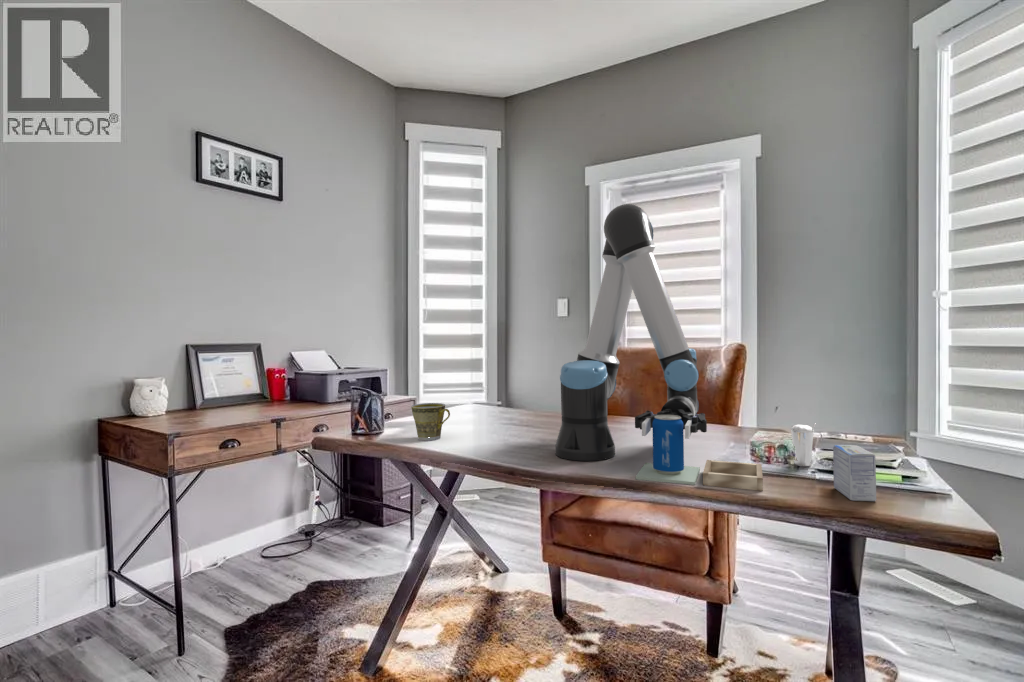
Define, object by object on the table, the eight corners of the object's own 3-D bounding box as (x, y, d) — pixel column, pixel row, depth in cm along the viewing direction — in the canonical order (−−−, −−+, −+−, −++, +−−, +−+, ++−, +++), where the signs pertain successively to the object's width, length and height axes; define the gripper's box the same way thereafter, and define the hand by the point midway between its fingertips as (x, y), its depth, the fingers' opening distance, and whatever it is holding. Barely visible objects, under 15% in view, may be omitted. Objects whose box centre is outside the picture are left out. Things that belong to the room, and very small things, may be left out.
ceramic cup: (405, 440, 158) (404, 406, 158) (427, 434, 167) (426, 402, 166) (439, 444, 151) (438, 409, 151) (460, 437, 160) (459, 404, 159)
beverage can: (651, 474, 115) (650, 418, 115) (655, 466, 121) (654, 413, 121) (682, 476, 113) (681, 419, 112) (685, 469, 119) (684, 415, 118)
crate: (703, 485, 109) (702, 472, 109) (706, 471, 119) (706, 459, 119) (762, 490, 104) (762, 478, 104) (761, 475, 114) (761, 464, 114)
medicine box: (877, 502, 97) (876, 454, 96) (849, 501, 97) (849, 454, 97) (858, 488, 104) (857, 444, 104) (832, 488, 105) (832, 444, 105)
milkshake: (809, 469, 118) (808, 424, 118) (786, 463, 123) (786, 420, 123) (821, 466, 120) (821, 422, 120) (799, 461, 125) (799, 418, 125)
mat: (635, 479, 114) (635, 476, 114) (645, 465, 125) (645, 462, 125) (695, 485, 109) (695, 482, 109) (700, 469, 120) (699, 467, 120)
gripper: (723, 430, 129) (718, 452, 108) (635, 425, 137) (615, 445, 116) (723, 399, 129) (718, 415, 108) (635, 396, 137) (615, 410, 116)
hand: (664, 430), depth 112 cm, fingers open, 8 cm apart
